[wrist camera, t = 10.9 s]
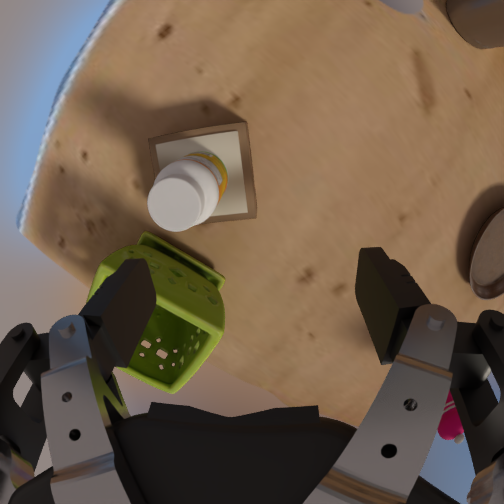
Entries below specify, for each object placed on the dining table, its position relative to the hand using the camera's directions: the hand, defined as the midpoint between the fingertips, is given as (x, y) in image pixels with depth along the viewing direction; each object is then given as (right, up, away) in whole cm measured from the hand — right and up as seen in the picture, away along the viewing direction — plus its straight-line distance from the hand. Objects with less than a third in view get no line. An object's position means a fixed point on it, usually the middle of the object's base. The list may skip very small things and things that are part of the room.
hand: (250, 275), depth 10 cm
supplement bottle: (-5, +8, +17) cm, 20 cm away
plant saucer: (+41, +2, +24) cm, 48 cm away
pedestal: (-5, +10, +21) cm, 24 cm away
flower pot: (-11, -3, +28) cm, 30 cm away
